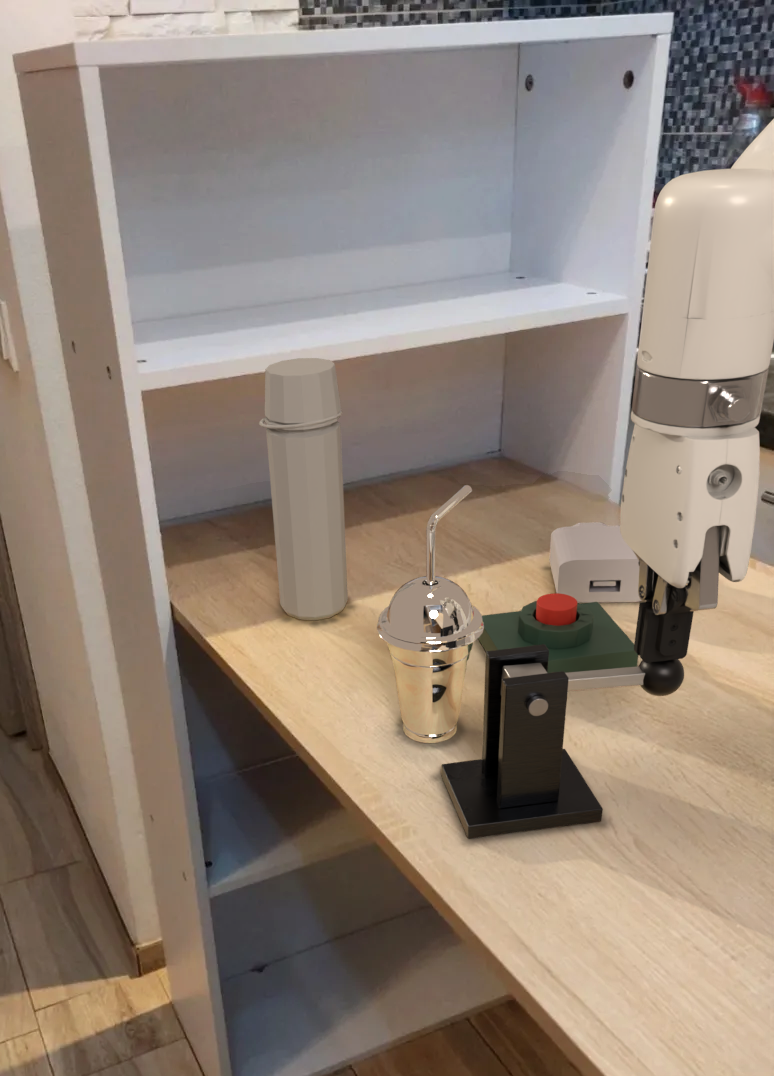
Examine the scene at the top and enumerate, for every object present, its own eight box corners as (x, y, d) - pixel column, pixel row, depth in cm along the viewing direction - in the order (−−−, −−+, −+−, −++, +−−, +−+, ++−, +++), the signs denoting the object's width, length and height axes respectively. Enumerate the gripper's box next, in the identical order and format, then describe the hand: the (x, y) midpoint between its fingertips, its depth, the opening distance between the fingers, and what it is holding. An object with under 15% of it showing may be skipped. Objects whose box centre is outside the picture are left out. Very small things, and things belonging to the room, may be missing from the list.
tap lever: (668, 680, 76) (675, 642, 74) (687, 702, 73) (695, 663, 72) (497, 695, 75) (500, 657, 74) (510, 718, 72) (514, 679, 71)
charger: (627, 543, 116) (650, 602, 104) (543, 544, 118) (556, 603, 105) (631, 503, 114) (655, 558, 101) (546, 505, 115) (559, 560, 103)
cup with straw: (362, 717, 90) (354, 499, 79) (453, 691, 92) (456, 476, 82) (409, 767, 83) (406, 536, 72) (505, 737, 85) (516, 510, 75)
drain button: (567, 608, 96) (569, 591, 96) (581, 625, 93) (583, 608, 92) (530, 612, 96) (531, 595, 95) (543, 629, 93) (544, 612, 92)
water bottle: (364, 609, 107) (356, 365, 94) (301, 631, 104) (283, 382, 91) (317, 580, 114) (303, 349, 101) (256, 600, 111) (234, 364, 98)
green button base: (595, 621, 101) (599, 584, 99) (636, 670, 93) (641, 631, 91) (476, 635, 101) (477, 599, 99) (506, 686, 92) (508, 647, 90)
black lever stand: (563, 760, 82) (575, 629, 76) (601, 821, 75) (617, 683, 69) (441, 776, 82) (442, 645, 75) (468, 839, 75) (471, 701, 69)
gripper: (823, 423, 57) (764, 703, 67) (700, 361, 70) (665, 604, 80) (693, 437, 57) (652, 716, 66) (593, 372, 69) (570, 615, 79)
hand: (659, 654), depth 73 cm, fingers closed
